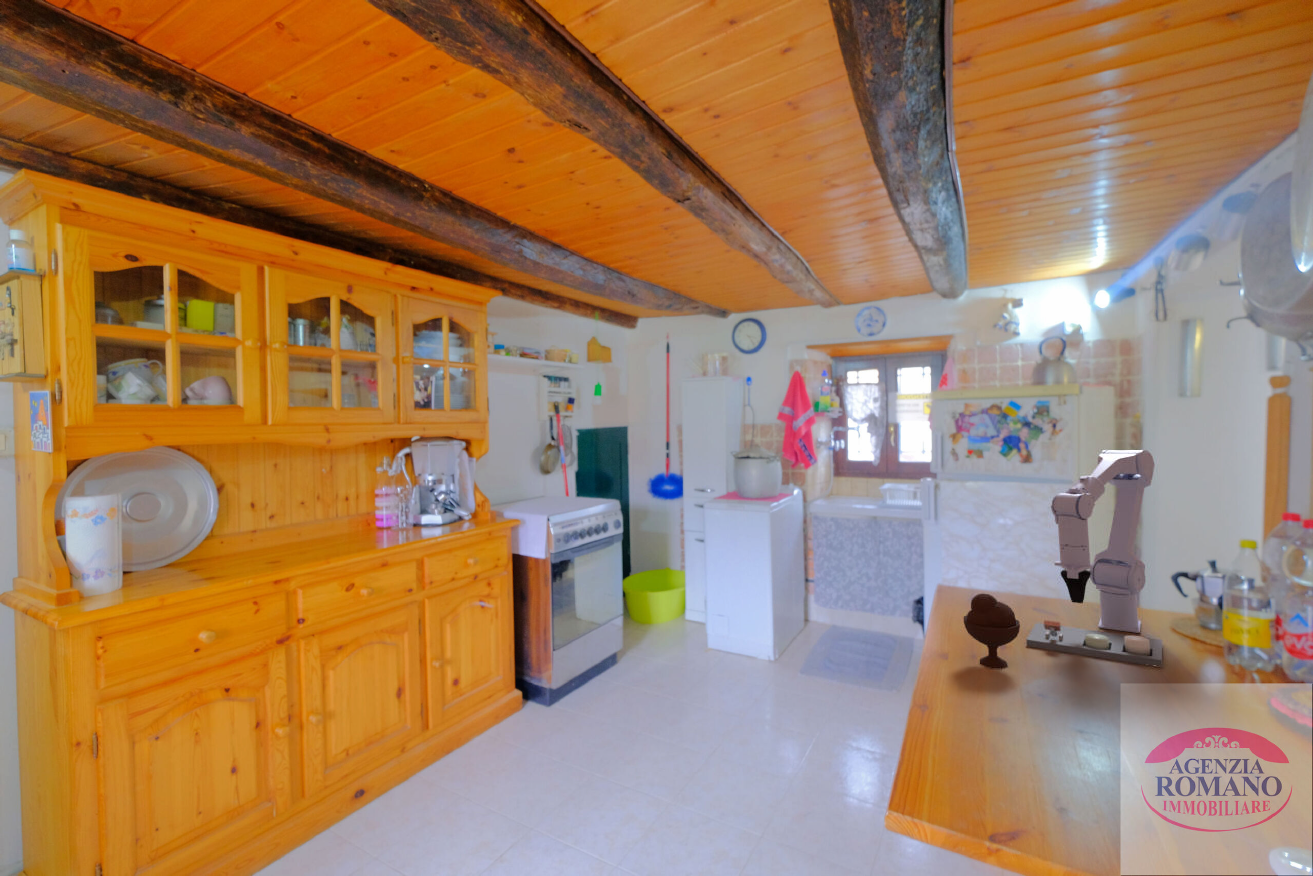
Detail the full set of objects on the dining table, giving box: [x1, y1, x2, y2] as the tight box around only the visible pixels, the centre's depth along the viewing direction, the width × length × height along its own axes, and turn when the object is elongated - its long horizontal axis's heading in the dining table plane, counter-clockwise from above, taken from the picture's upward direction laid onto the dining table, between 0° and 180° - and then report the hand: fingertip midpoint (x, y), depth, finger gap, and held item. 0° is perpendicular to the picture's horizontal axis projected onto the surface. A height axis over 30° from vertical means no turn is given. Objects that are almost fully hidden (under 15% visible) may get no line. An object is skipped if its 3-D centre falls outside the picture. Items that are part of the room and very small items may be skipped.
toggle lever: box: [1043, 619, 1062, 637], centre depth 137 cm, size 1×3×4 cm
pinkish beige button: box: [1124, 635, 1151, 656], centre depth 128 cm, size 4×4×3 cm
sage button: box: [1085, 634, 1110, 650], centre depth 132 cm, size 4×4×3 cm
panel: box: [1025, 622, 1163, 667], centre depth 135 cm, size 14×24×2 cm, turn 50°
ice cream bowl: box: [963, 592, 1021, 670], centre depth 129 cm, size 11×11×15 cm
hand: (1077, 602), depth 139 cm, fingers closed
